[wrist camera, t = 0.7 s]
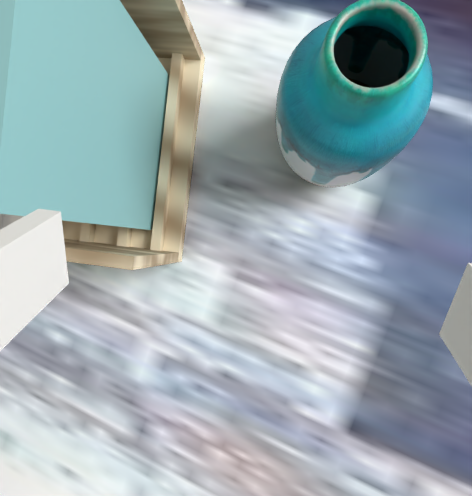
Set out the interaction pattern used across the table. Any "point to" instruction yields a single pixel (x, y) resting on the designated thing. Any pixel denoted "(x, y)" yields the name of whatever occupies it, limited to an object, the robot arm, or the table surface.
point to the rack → (172, 152)
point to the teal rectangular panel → (79, 112)
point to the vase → (354, 93)
